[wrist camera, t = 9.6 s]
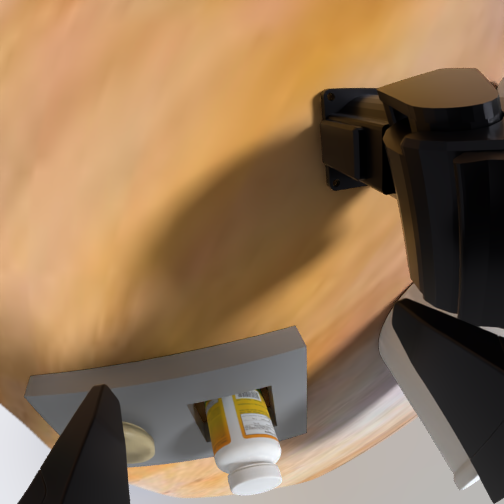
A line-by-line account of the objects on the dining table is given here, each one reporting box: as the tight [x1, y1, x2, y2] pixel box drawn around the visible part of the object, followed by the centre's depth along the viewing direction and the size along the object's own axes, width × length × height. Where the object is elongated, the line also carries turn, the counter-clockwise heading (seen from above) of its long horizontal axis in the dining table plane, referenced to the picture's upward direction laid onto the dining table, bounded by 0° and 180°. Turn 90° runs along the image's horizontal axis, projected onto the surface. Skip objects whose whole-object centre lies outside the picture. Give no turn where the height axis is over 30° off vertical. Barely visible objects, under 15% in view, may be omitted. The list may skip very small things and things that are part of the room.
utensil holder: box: [379, 283, 504, 490], centre depth 22 cm, size 15×15×18 cm
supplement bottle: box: [204, 389, 282, 495], centre depth 23 cm, size 5×5×10 cm
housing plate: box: [24, 326, 307, 467], centre depth 25 cm, size 24×14×4 cm, turn 98°
